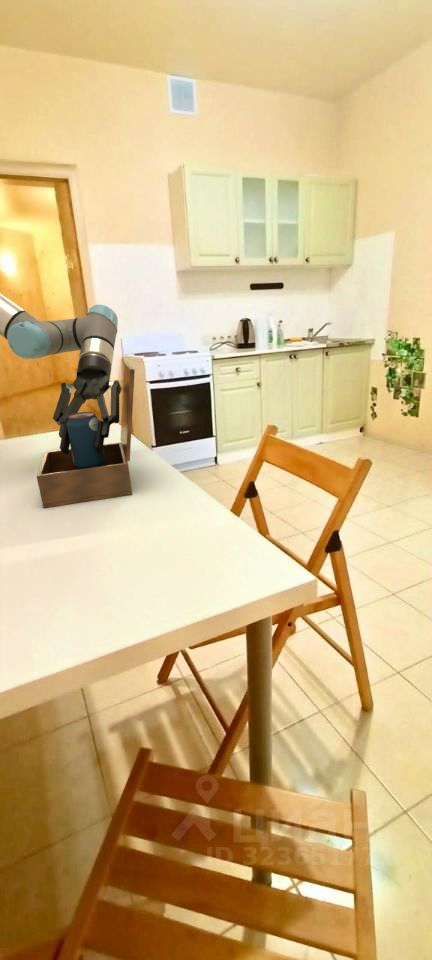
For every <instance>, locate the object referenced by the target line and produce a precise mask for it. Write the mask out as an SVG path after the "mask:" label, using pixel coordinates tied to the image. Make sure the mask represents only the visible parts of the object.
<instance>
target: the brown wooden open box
mask: <svg viewBox="0 0 432 960" xmlns="http://www.w3.org/2000/svg"><path fill="white" fill-rule="evenodd" d="M103 447H104V453H105V463H104V465H103V466H99V467H92V468H85V469H77V468H76V467H75V466H74V463H73V458H72V452H71V448H69V452H68V454H64V453H63V452H62V450H61V449H57V450H51V451H50V450H49V451H44V454H43V456H42V457H43V458H42V459H41V462H40V464H39V468H38V471H37V473H36V481H37V485H38V489H39V494H40V499H41V503H42V508H43V509H47V508H53V507H60V506H61V507H62V506H67V505H74V504H79V503H85V502H92V501H99V500H106V499H113V498H119V497H125V496H132V495H133V489H132V482H131V475H130V468H129V461H126V460H125V456H124V452H123V448H122V444H121V441H120V442H113V443H104V444H103Z"/></svg>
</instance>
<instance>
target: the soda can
mask: <svg viewBox="0 0 432 960" xmlns="http://www.w3.org/2000/svg"><path fill="white" fill-rule="evenodd" d="M68 418H69V419H68V422H67V430H68V435H69V441H70V446H69V447H70V449H71V452H72V458H73V463H74V466H75V467H76V468H77V469H85V468H92V467H99V466H103V465H104V463H105V453H104V447H103V451H102V453H98V451H97V450H96V449H95V440H96V434H97V427H98V421H100V419H99V418H98V416H97V415H96V412H95V411H78V413H74V414H71V415H69V416H68Z"/></svg>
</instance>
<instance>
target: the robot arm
mask: <svg viewBox="0 0 432 960" xmlns="http://www.w3.org/2000/svg"><path fill="white" fill-rule="evenodd" d="M118 319H119V318H118V314H117V313H116V312H115V311H114V310H113V309H112V308H110V307H109V306H107V305H104V304H94V305H92V306H91V307H90V308H88V310H87V312H86V315H85V316H81V317H75V318H67V319H57V320H39V319H37V318H36V317H34V316H33V315H31V314H30V313H29V312H27V311H26V310H25V309H23V308H22V307H21V306H19V305H18V304H16V303H15V302H13V300H11V299H10V298H8V297H7V296H6V295H3V294H2V293H1V292H0V336H1V337H3V338H4V339H5V340H6V341H7V344H8V346H9V348H10V349H11V351H12V353H13V354H15V355H16V356H17V357H20V358H21V359H25V360H27V359H28V360H29V359H30V360H31V359H32V360H33V359H34V360H36V359H40V358H44V357H48V356H54V355H59V354H62V353H70V352H77V351H80V352H79V357H78V359H79V360H78V362H77V366H76V367H77V368H76V375H75V376H76V377H75V379H74V380H73V382H71V383H69V384H68V383H66V382H62V383H60V390H61V391H60V394H59V397H58V400H57V404H56V407H55V409H54V413H53V416H52V420H54V422H55V423H56V424H57V426H59V429H58V430H59V431H58V437H59V438H60V444H59V450H62V452H63V453H64V454H68V452H69V449H70V447H71V446H70V441H69V435H68V430H67V422H68V419H69V418H68V416H69V415H71V414H74V413H79V412H80V410H81V408H82V406H83V405H84V404H86V401H89V400H96V401H97V406H98V408H99V412H100V416H101V420H99V421H98V427H97V434H96V440H95V449H96V450H97V451H98V453H102V451H103V445H104V444H105V439H107V438H109V436H110V430H111V425H112V424H119V423H120V394H121V392H122V391H123V386H122V385H121V383H120V381H119V380H116V379H115V380H114V381H111V374H112V366H113V360H114V352H115V346H116V345H115V344H116V340H117V339H116V338H117V334H118V322H119V320H118ZM109 389H110V415H109V411H108V407H107V404H106V397H105V395H104V394H105V393H106V392H107V391H108V390H109ZM74 390H75V391H74ZM71 395H73V397H71ZM71 398H72V399H71Z"/></svg>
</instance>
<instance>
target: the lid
mask: <svg viewBox="0 0 432 960" xmlns="http://www.w3.org/2000/svg"><path fill="white" fill-rule="evenodd" d="M135 373H136V369H135V368H134V366H132V365H131V364H130V363H129V362H128V361H124V362H123V376H122V377H123V380H122V400H121V402H122V403H121V421H120V442H121V444H122V448H123V452H124V456H125V460H126V461H127V462H131V448H132V447H131V446H132V445H131V444H132V427H133V426H132V425H133V410H134V409H133V408H134V390H135Z"/></svg>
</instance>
